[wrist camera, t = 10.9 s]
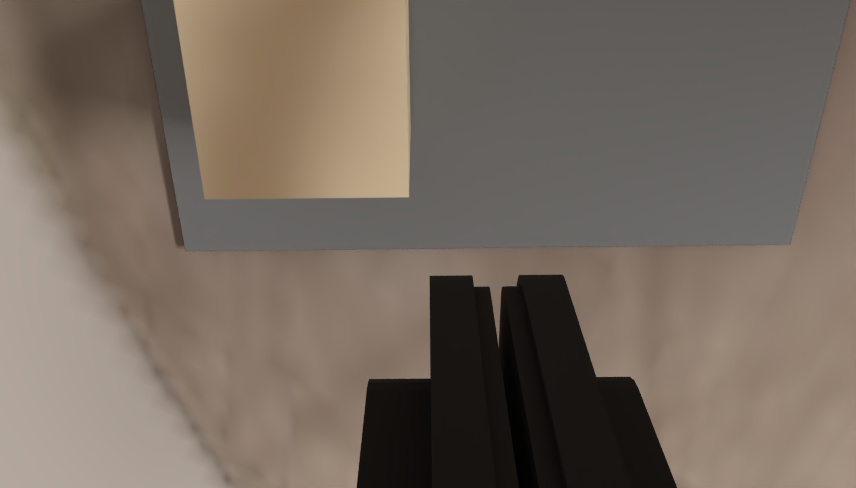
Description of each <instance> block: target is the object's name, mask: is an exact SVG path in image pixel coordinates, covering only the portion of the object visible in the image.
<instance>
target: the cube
mask: <svg viewBox="0 0 856 488" xmlns="http://www.w3.org/2000/svg"><path fill="white" fill-rule="evenodd" d="M173 2H174V8H175V14H176V21H177V27H178V33H179V40H180V46H181V52H182V59H183V65H184V72H185V78H186V84H187V91H188V97H189V103H190V110H191V116H192V122H193V129H194V135H195V141H196V148H197V154H198V160H199V167H200V173H201V179H202V186H203V192H204V198H205V199H296V198H394V197H409V174H410V134H411V122H410V64H409V6H408V0H173Z"/></svg>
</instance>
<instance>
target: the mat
mask: <svg viewBox="0 0 856 488" xmlns="http://www.w3.org/2000/svg"><path fill="white" fill-rule="evenodd" d="M141 4H142V9H143V15H144V21H145V26H146V32H147V38H148V43H149V49H150V54H151V60H152V66H153V71H154V77H155V83H156V88H157V94H158V100H159V105H160V111H161V116H162V122H163V128H164V133H165V139H166V145H167V150H168V156H169V162H170V167H171V173H172V178H173V184H174V190H175V195H176V201H177V207H178V212H179V218H180V224H181V229H182V235H183V240H184V246H185V251H267V250H356V249H445V248H533V247H622V246H711V245H790V244H791V240H792V236H793V232H794V227H795V223H796V219H797V215H798V211H799V207H800V203H801V199H802V195H803V191H804V187H805V183H806V179H807V175H808V170H809V166H810V162H811V158H812V154H813V150H814V146H815V142H816V138H817V134H818V130H819V126H820V122H821V118H822V114H823V109H824V105H825V101H826V97H827V93H828V89H829V85H830V81H831V77H832V73H833V69H834V65H835V61H836V57H837V52H838V48H839V44H840V40H841V36H842V32H843V28H844V24H845V20H846V16H847V12H848V8H849V4H850V0H408V6H409V64H410V122H411V134H410V174H409V197H394V198H296V199H205V198H204V192H203V186H202V179H201V173H200V167H199V160H198V154H197V148H196V141H195V135H194V129H193V122H192V116H191V110H190V103H189V97H188V91H187V84H186V78H185V72H184V65H183V59H182V52H181V46H180V40H179V33H178V27H177V21H176V14H175V8H174V2H173V0H141Z"/></svg>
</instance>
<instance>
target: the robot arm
mask: <svg viewBox="0 0 856 488" xmlns="http://www.w3.org/2000/svg"><path fill="white" fill-rule="evenodd" d="M430 367H431V379H369V381H368V387H367V394H366V404H365V414H364V423H363V433H362V442H361V452H360V462H359V471H358V481H357V488H677V486H676V484H675V481H674V479H673V476H672V474H671V471H670V469H669V466H668V463H667V461H666V458H665V456H664V453H663V451H662V448H661V445H660V443H659V440H658V438H657V435H656V433H655V430H654V427H653V425H652V422H651V420H650V417H649V415H648V412H647V409H646V407H645V404H644V402H643V399H642V397H641V394H640V392H639V389H638V387H637V385H636V383H635V381H634V380H633V379H632V378H630V377H596V375H595V372H594V369H593V366H592V363H591V359H590V356H589V353H588V350H587V347H586V344H585V341H584V337H583V334H582V331H581V328H580V325H579V322H578V319H577V316H576V312H575V309H574V306H573V303H572V300H571V297H570V294H569V291H568V287H567V284H566V281H565V278H564V276H563V275H519V277H518V281H517V286H508V287H502V292H501V310H500V333H499V348H498V341H497V334H496V327H495V320H494V313H493V306H492V300H491V293H490V287H474V284H473V277H472V276H430Z"/></svg>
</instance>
